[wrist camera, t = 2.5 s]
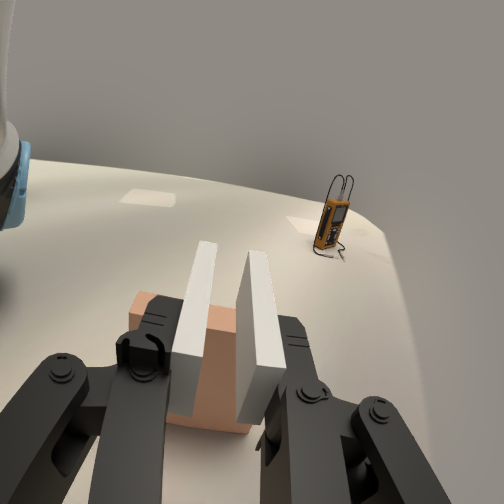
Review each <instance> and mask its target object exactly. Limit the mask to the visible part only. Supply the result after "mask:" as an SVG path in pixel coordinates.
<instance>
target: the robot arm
mask: <svg viewBox="0 0 504 504" xmlns="http://www.w3.org/2000/svg"><path fill="white" fill-rule="evenodd" d="M15 2H16V0H0V231H3V230H4V229H9V228H15V227H18V226H19V225H21V223H22V222H23V220H24V215H25V203H26V189H27V179H28V169H29V160H30V151H31V145H30V143H29V142H25V141H23V140H19V138H18V133H17V130H16V129H15V127H14V126H13V125H12V124H11V123H10V122H9V121H8V120H6V80H7V79H6V78H7V61H8V50H9V40H10V32H11V25H12V18H13V12H14V7H15ZM217 246H218V244H216V243H211V242H206V241H200V242H199V245H198V249H197V253H196V256H195V260H194V264H193V267H192V271H191V275H190V279H189V283H188V286H187V290H186V294H185V298H184V300H182V299H177V298H172V297H167V296H162V295H157V296H155V297H154V298H153V299H152V300H150V301H149V302H148V304H147V307H146V309H145V312H144V314H143V317H142V319H141V322H140V324H139V327H138V329H137V330H133V331H128V332H126V333H125V334H123V335H121V336H120V337H119V339H118V340H117V342H116V355H117V364H115V365H112V366H109V367H86V366H85V365H84V363H83V361H82V360H81V359H79V358H78V357H76V356H75V355H71V354H68V353H57V354H54V355H51V356H48V357H47V358H46V359H45V360H43V361H42V362H41V364H40V365H39V366H38V367H37V368H36V369H35V371H34V372H33V373H32V374H31V375H30V377H29V378H28V379H27V380H26V381H25V383H24V384H23V385H22V386H21V388H20V389H19V390H18V391H17V392H16V394H15V395H14V396H13V397H12V399H11V400H10V401H9V403H8V404H7V405H6V406H5V408H4V409H3V410H2V412H1V413H0V504H62V502H63V500H64V498H65V496H66V494H67V492H68V490H69V489H70V487H71V485H72V483H73V481H74V479H75V477H76V475H77V473H78V471H79V469H80V467H81V466H82V464H83V462H84V460H85V458H86V456H87V454H88V452H89V451H90V449H91V447H92V445H93V443H94V441H95V440H96V438H97V436H100V439H99V444H98V449H97V454H96V459H95V464H94V470H93V475H92V481H91V487H90V493H89V500H88V504H161V502H162V477H163V459H164V443H165V430H166V417H167V413H171V414H177V415H182V416H188V417H192V415H193V409H194V403H195V397H196V391H197V386H198V380H199V375H200V369H201V364H202V358H203V350H204V342H205V334H206V326H207V318H208V310H209V303H210V295H211V288H212V281H213V273H214V266H215V259H216V253H217ZM309 347H310V346H309V342H308V340H307V335H306V331H305V327H304V326H303V325H302V324H301V322H300V321H299V320H298V319H297V318H296V317H289V316H282V315H277V310H276V304H275V298H274V293H273V287H272V281H271V276H270V270H269V264H268V259H267V253H263V252H258V251H253V250H249V252H248V256H247V260H246V264H245V268H244V272H243V276H242V280H241V284H240V288H239V292H238V296H237V300H236V423H241V424H252V425H260V424H261V422H262V420H263V418H264V416H265V430H264V432H263V434H262V436H261V438H260V440H259V441H258V443H257V446H256V449H255V450H256V451H259V449H260V448H261V477H260V504H451V502H450V500H449V498H448V496H447V495H446V493H445V491H444V489H443V487H442V486H441V484H440V482H439V480H438V479H437V477H436V475H435V473H434V471H433V470H432V468H431V466H430V465H429V463H428V461H427V459H426V458H425V456H424V454H423V452H422V451H421V449H420V447H419V446H418V444H417V442H416V441H415V439H414V437H413V435H412V434H411V432H410V430H409V429H408V427H407V425H406V424H405V422H404V420H403V419H402V417H401V415H400V414H399V412H398V411H397V409H396V408H395V407H394V405H393V404H392V403H390V402H389V401H387V400H386V399H384V398H381V397H378V396H370V397H367V398H365V399H363V400H362V402H361V403H360V404H359V405H358V404H354V403H350V402H347V401H343V400H340V399H338V398H335V397H333V396H332V393H331V391H330V389H329V388H328V387H327V386H326V385H325V384H324V383H323V382H321V381H320V380H318V376H317V373H316V369H315V365H314V361H313V357H312V353H311V350H310V348H309Z"/></svg>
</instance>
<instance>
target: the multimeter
mask: <svg viewBox="0 0 504 504" xmlns="http://www.w3.org/2000/svg"><path fill="white" fill-rule="evenodd" d="M337 176H342V175H337ZM337 176H336V177H337ZM348 176H350V175H348ZM348 176H347V177H348ZM336 177H335V178H336ZM342 177H343V176H342ZM347 177H346V182H347ZM335 178H334V180H335ZM351 178H352V179H353V177H352V176H351ZM334 180H333V181H334ZM353 183H354V179H353ZM332 184H333V182H332ZM332 184H331V186H332ZM331 186H330V189H331ZM343 186H344V178H343ZM343 186H342V189H343ZM345 186H346V183H345ZM345 186H344V189H345ZM352 187H353V184H352ZM330 189H329V192H330ZM342 189H341V192H340V195H339V197H338V199H328V195H329V192H328V195H327V198H326V202H327V204H326V202H325V205H324V209H325V210H324V209H323V213H324V214H323V213H322V216H323V217H322V216H321V220H320V223H319V226H318V230H317V233H316V237H315V241H314V246H317V247H319V248H320V249H324V248H328V247H334V246H336V243H337V242H338V241H337V240H338V237H339V235H340V231H341V229H342V226H343V223H344V220H345V217H346V214H347V211H348V208H349V205H350V203H349V202H347V201H345V200H343V199H342V198H343V194H344V190H343V192H342ZM351 190H352V188H351ZM350 193H351V191H350ZM341 194H342V195H341ZM349 197H350V195H349ZM327 199H328V201H327ZM348 200H349V198H348ZM325 206H326V207H325ZM338 243H339V242H338ZM339 244H340V243H339ZM340 245H342V244H340ZM314 246H313V250H314ZM342 246H343V245H342ZM343 247H344V246H343ZM339 250H345V247H344V249H339ZM339 250H338V251H339ZM314 252H315V253H316V251H315V250H314ZM339 253H340V255H341V257H342V259H344V256H343V255H342V253H341V252H340V251H339ZM316 254H318V253H316ZM318 255H322V254H318ZM322 256H326V257H332V258H333V257H334V256H332V255H322ZM336 258H340V257H336ZM344 260H345V259H344Z"/></svg>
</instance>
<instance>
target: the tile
mask: <svg viewBox="0 0 504 504" xmlns="http://www.w3.org/2000/svg"><path fill="white" fill-rule="evenodd" d="M157 295H158V294H153V293H148V292H143V291H139V292H138V294H137V296H136V298H135V300H134V302H133V304H132V307H131V309H130V311H129V331H133V330H137V329H138V327H139V324H140V322H141V319H142V317H143V314H144V312H145V309H146V307H147V304H148V302H149V301H150V300H152V299H153V298H154V297H155V296H157ZM162 296H163V295H162ZM167 297H168V296H167ZM172 298H173V297H172ZM177 299H178V298H177ZM182 300H183V299H182ZM166 423H170V424H176V425H182V426H188V427H194V428H201V429H208V430H215V431H224V432H233V433H243V434H248V433H249V431H250V429H251V426H252V424H241V423H236V309H233V308H227V307H221V306H215V305H210V304H209V310H208V318H207V326H206V334H205V342H204V350H203V358H202V364H201V369H200V375H199V380H198V386H197V391H196V397H195V403H194V409H193V415H192V417H188V416H182V415H177V414H171V413H167V417H166Z"/></svg>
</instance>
